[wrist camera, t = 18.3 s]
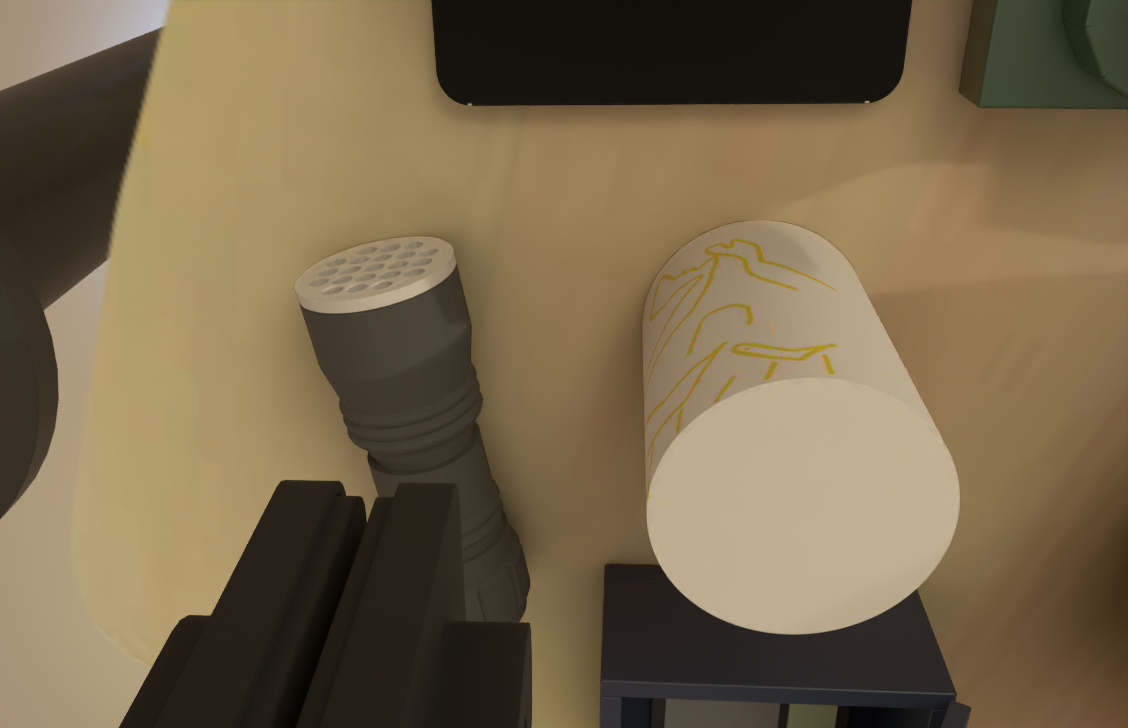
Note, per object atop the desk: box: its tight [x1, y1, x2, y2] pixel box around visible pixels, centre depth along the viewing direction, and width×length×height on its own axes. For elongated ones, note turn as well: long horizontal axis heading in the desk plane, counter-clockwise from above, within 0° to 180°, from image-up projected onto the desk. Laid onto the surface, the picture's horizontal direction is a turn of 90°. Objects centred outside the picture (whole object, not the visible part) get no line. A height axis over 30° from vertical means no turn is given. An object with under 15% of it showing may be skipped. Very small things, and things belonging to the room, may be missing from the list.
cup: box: [642, 220, 960, 634], centre depth 33 cm, size 8×8×12 cm
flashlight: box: [295, 236, 530, 622], centre depth 38 cm, size 15×5×5 cm, turn 10°
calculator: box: [649, 698, 851, 728], centre depth 44 cm, size 8×6×1 cm
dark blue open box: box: [600, 564, 957, 728], centre depth 42 cm, size 13×10×7 cm
